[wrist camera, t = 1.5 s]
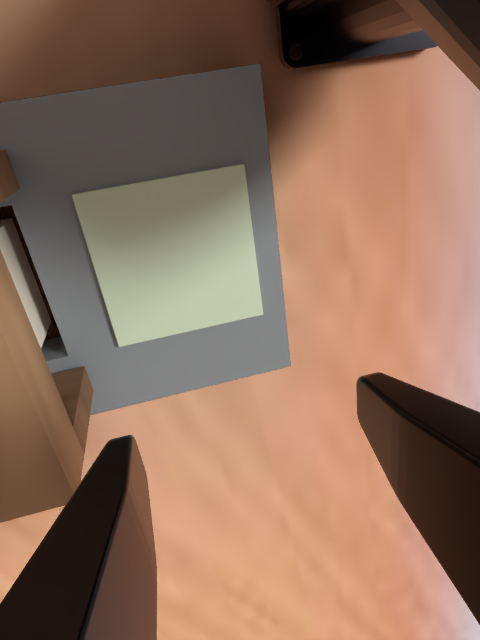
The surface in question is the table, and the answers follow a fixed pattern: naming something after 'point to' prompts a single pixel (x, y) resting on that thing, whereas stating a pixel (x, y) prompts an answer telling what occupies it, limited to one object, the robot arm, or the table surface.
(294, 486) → the table surface
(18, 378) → the slide cover
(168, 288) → the board
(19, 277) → the block
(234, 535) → the table surface
